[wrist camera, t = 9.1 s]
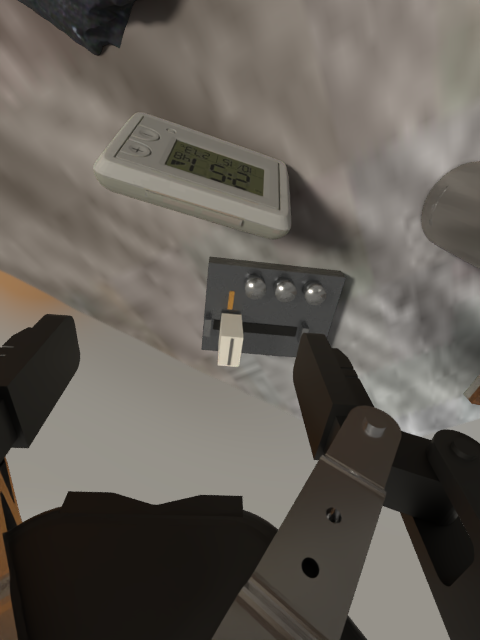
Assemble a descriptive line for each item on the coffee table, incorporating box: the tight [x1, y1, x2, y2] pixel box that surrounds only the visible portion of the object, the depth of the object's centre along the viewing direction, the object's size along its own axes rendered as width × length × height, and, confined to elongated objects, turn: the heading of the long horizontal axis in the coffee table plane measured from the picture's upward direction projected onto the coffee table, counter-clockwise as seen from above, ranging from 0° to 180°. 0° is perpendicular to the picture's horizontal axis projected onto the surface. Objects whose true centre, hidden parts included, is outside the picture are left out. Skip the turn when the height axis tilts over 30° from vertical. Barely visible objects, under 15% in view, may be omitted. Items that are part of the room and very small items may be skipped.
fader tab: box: [218, 313, 243, 367], centre depth 38 cm, size 2×4×5 cm, turn 173°
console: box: [202, 257, 346, 357], centre depth 40 cm, size 16×12×4 cm
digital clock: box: [93, 112, 291, 239], centre depth 29 cm, size 16×9×11 cm, turn 61°
